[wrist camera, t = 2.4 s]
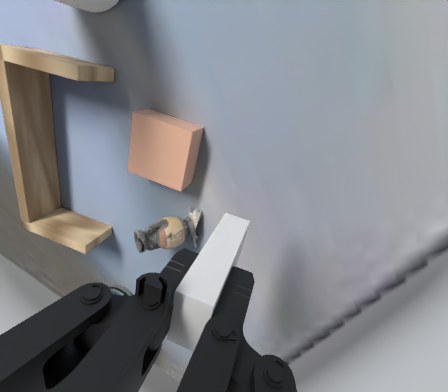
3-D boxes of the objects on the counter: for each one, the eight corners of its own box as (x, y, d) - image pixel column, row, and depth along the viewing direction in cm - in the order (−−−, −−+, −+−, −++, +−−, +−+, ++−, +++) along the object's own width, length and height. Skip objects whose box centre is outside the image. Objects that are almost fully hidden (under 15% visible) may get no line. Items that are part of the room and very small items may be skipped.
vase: (156, 234, 32) (125, 260, 26) (160, 194, 30) (128, 213, 24) (197, 248, 31) (173, 278, 25) (204, 207, 29) (179, 230, 23)
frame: (114, 68, 25) (77, 65, 21) (111, 234, 34) (85, 254, 30) (37, 48, 27) (-10, 42, 23) (54, 212, 36) (22, 227, 32)
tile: (204, 126, 25) (192, 131, 22) (193, 181, 28) (180, 191, 25) (150, 108, 26) (132, 111, 23) (144, 163, 29) (127, 171, 26)
